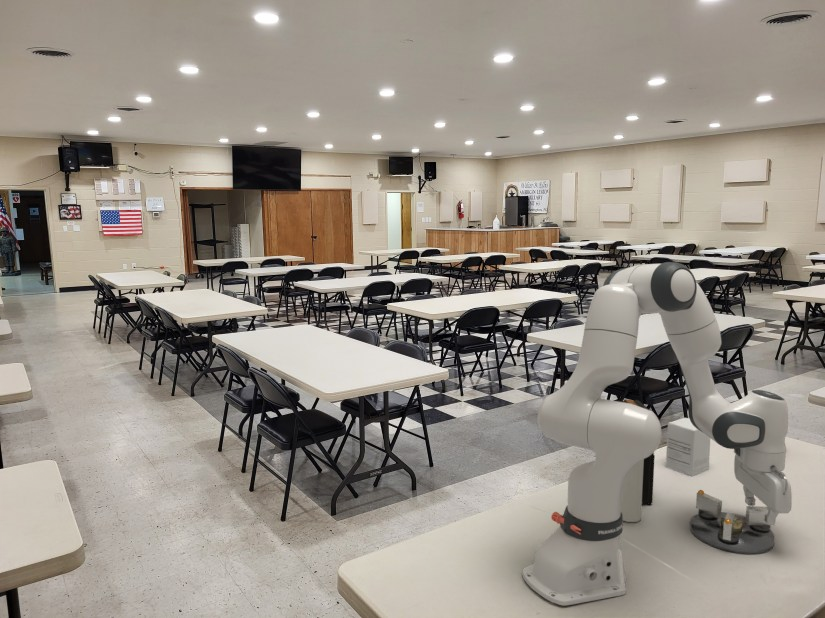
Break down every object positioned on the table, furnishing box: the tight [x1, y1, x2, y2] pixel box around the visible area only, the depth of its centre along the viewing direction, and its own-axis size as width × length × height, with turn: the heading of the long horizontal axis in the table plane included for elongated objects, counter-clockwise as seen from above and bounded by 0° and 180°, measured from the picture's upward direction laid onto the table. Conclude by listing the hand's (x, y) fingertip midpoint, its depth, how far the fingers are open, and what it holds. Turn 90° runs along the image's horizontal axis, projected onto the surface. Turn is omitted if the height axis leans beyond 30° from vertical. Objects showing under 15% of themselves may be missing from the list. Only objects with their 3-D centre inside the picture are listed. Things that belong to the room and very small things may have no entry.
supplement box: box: [665, 417, 711, 477], centre depth 187 cm, size 9×9×15 cm
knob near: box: [718, 511, 739, 544], centre depth 144 cm, size 6×4×6 cm
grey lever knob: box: [745, 505, 776, 533], centre depth 148 cm, size 6×4×6 cm
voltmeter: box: [616, 399, 655, 506], centre depth 171 cm, size 16×9×25 cm, turn 178°
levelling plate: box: [689, 511, 775, 555], centre depth 149 cm, size 18×18×4 cm
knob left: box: [695, 489, 723, 521], centre depth 155 cm, size 6×4×6 cm
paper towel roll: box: [621, 459, 644, 523], centre depth 157 cm, size 7×6×21 cm
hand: (759, 513), depth 149 cm, fingers open, 8 cm apart
